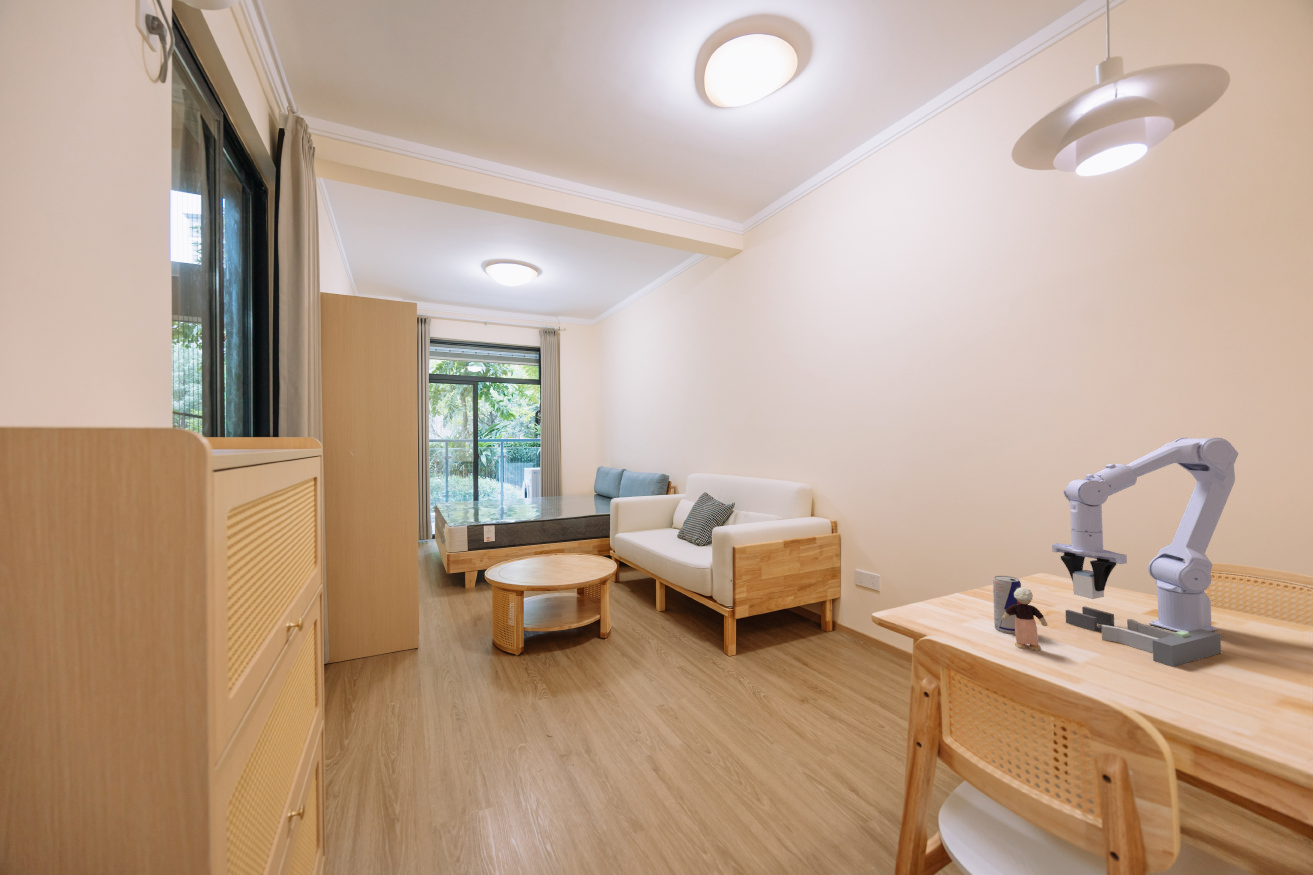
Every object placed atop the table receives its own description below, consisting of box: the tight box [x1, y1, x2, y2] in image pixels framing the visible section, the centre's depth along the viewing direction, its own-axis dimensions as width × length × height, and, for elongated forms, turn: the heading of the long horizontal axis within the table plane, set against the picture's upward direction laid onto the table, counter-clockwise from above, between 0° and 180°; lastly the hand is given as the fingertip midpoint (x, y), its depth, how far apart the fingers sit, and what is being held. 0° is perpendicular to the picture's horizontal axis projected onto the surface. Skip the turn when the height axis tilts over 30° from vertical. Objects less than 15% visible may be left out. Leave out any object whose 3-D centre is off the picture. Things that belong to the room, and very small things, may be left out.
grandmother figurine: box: [1002, 586, 1049, 652], centre depth 109 cm, size 8×4×13 cm, turn 71°
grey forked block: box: [1101, 618, 1222, 668], centre depth 107 cm, size 16×14×5 cm
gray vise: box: [1065, 606, 1115, 632], centre depth 121 cm, size 13×7×3 cm, turn 109°
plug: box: [1072, 569, 1105, 600], centre depth 120 cm, size 4×4×6 cm
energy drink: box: [992, 575, 1022, 635], centre depth 118 cm, size 5×5×12 cm
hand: (1088, 587), depth 120 cm, fingers closed on plug, 4 cm apart
